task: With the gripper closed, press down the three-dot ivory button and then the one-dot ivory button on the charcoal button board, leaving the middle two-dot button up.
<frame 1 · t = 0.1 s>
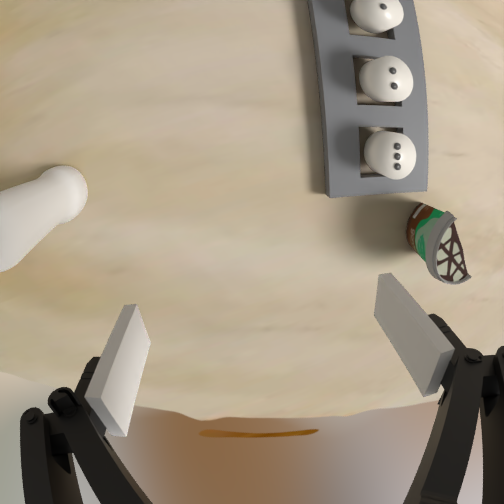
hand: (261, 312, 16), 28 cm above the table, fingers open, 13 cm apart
two dot button: (386, 79, 32), point 4 cm above the table, slide at 0.0 cm
button board: (372, 81, 36), on the table
bottle: (68, 189, 40), on the table
one dot button: (376, 10, 28), point 4 cm above the table, slide at 0.0 cm
food container: (416, 234, 46), on the table
three dot button: (390, 154, 36), point 4 cm above the table, slide at 0.0 cm
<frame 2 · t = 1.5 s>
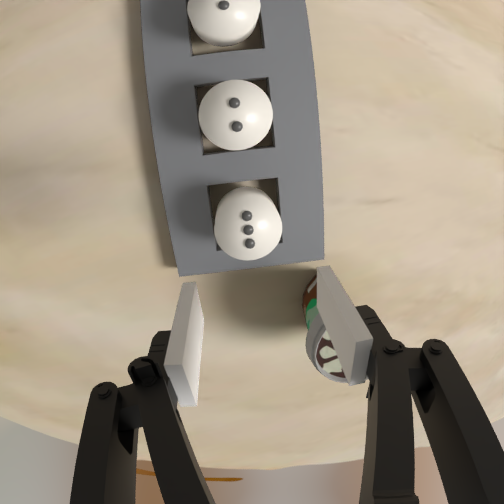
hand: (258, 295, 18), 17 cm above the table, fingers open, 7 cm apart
two dot button: (235, 115, 25), point 4 cm above the table, slide at 0.0 cm
button board: (234, 115, 29), on the table
one dot button: (224, 12, 21), point 4 cm above the table, slide at 0.0 cm
food container: (318, 307, 39), on the table
three dot button: (247, 222, 29), point 4 cm above the table, slide at 0.0 cm
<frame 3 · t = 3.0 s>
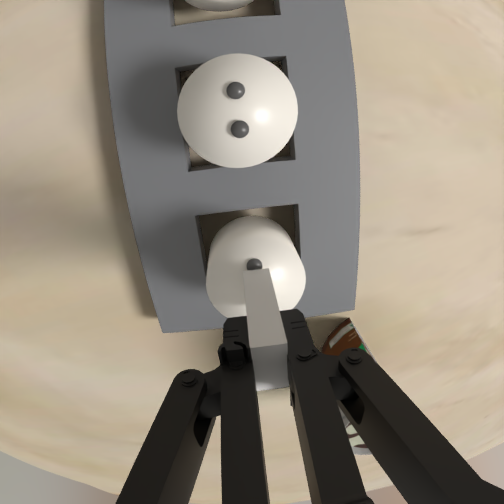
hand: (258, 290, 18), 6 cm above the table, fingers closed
two dot button: (236, 110, 16), point 4 cm above the table, slide at 0.0 cm
button board: (235, 112, 20), on the table
food container: (340, 359, 30), on the table
three dot button: (254, 269, 20), point 4 cm above the table, slide at 0.3 cm, touching gripper
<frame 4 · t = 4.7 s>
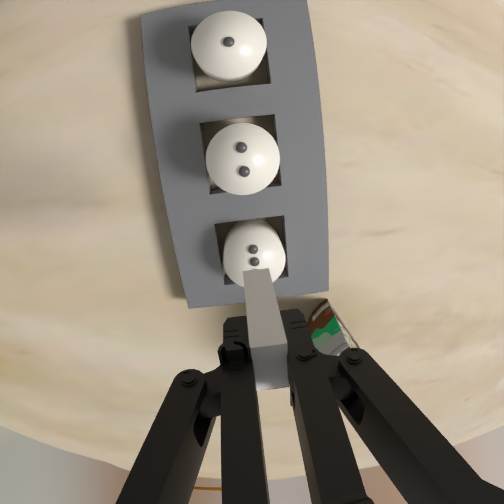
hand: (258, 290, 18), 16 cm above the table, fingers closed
two dot button: (242, 156, 26), point 4 cm above the table, slide at 0.0 cm
button board: (240, 152, 30), on the table
one dot button: (228, 47, 22), point 4 cm above the table, slide at 0.0 cm
food container: (322, 333, 40), on the table
three dot button: (253, 253, 32), point 2 cm above the table, slide at 1.9 cm
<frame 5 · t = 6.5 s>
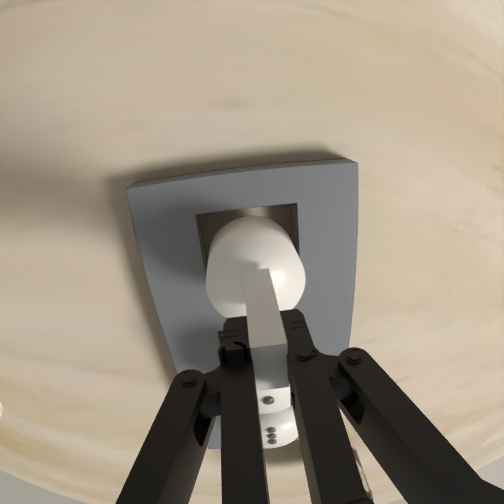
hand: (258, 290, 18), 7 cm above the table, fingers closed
two dot button: (265, 375, 25), point 4 cm above the table, slide at 0.0 cm
button board: (260, 342, 29), on the table
one dot button: (253, 270, 20), point 4 cm above the table, slide at 0.0 cm, touching gripper
three dot button: (269, 421, 30), point 2 cm above the table, slide at 1.9 cm
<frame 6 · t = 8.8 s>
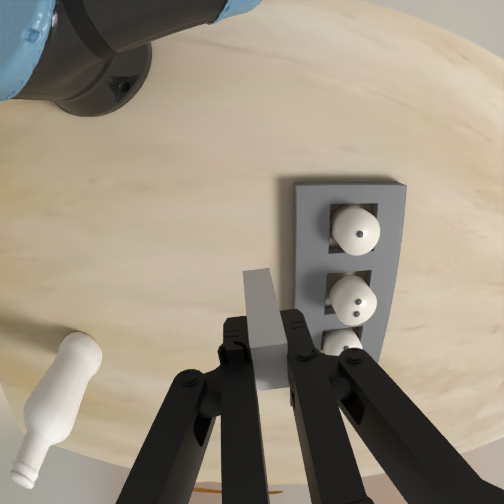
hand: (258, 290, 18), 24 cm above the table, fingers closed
two dot button: (352, 300, 43), point 4 cm above the table, slide at 0.0 cm
button board: (343, 286, 47), on the table
bottle: (84, 346, 49), on the table
one dot button: (354, 229, 41), point 2 cm above the table, slide at 1.9 cm
three dot button: (341, 346, 48), point 2 cm above the table, slide at 1.9 cm
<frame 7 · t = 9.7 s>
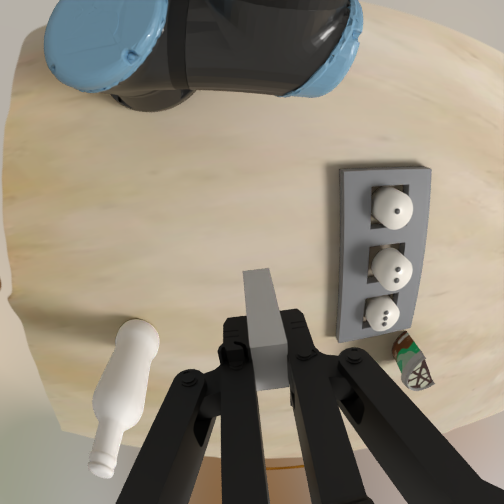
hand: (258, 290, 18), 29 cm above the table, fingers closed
two dot button: (392, 269, 48), point 4 cm above the table, slide at 0.0 cm
button board: (381, 258, 52), on the table
bottle: (140, 333, 55), on the table
one dot button: (391, 207, 45), point 2 cm above the table, slide at 1.9 cm
food container: (399, 349, 62), on the table
three dot button: (381, 312, 54), point 2 cm above the table, slide at 1.9 cm
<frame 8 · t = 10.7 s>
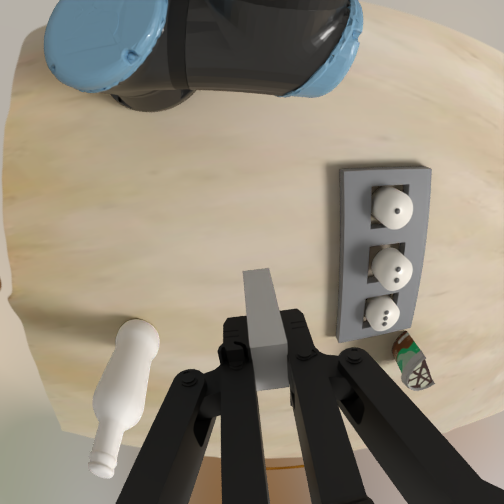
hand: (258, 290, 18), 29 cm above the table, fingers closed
two dot button: (392, 269, 48), point 4 cm above the table, slide at 0.0 cm
button board: (381, 258, 52), on the table
bottle: (140, 333, 55), on the table
one dot button: (391, 207, 45), point 2 cm above the table, slide at 1.9 cm
food container: (399, 349, 62), on the table
three dot button: (381, 312, 54), point 2 cm above the table, slide at 1.9 cm
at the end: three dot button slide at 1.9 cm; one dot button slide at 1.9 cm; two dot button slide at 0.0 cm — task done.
